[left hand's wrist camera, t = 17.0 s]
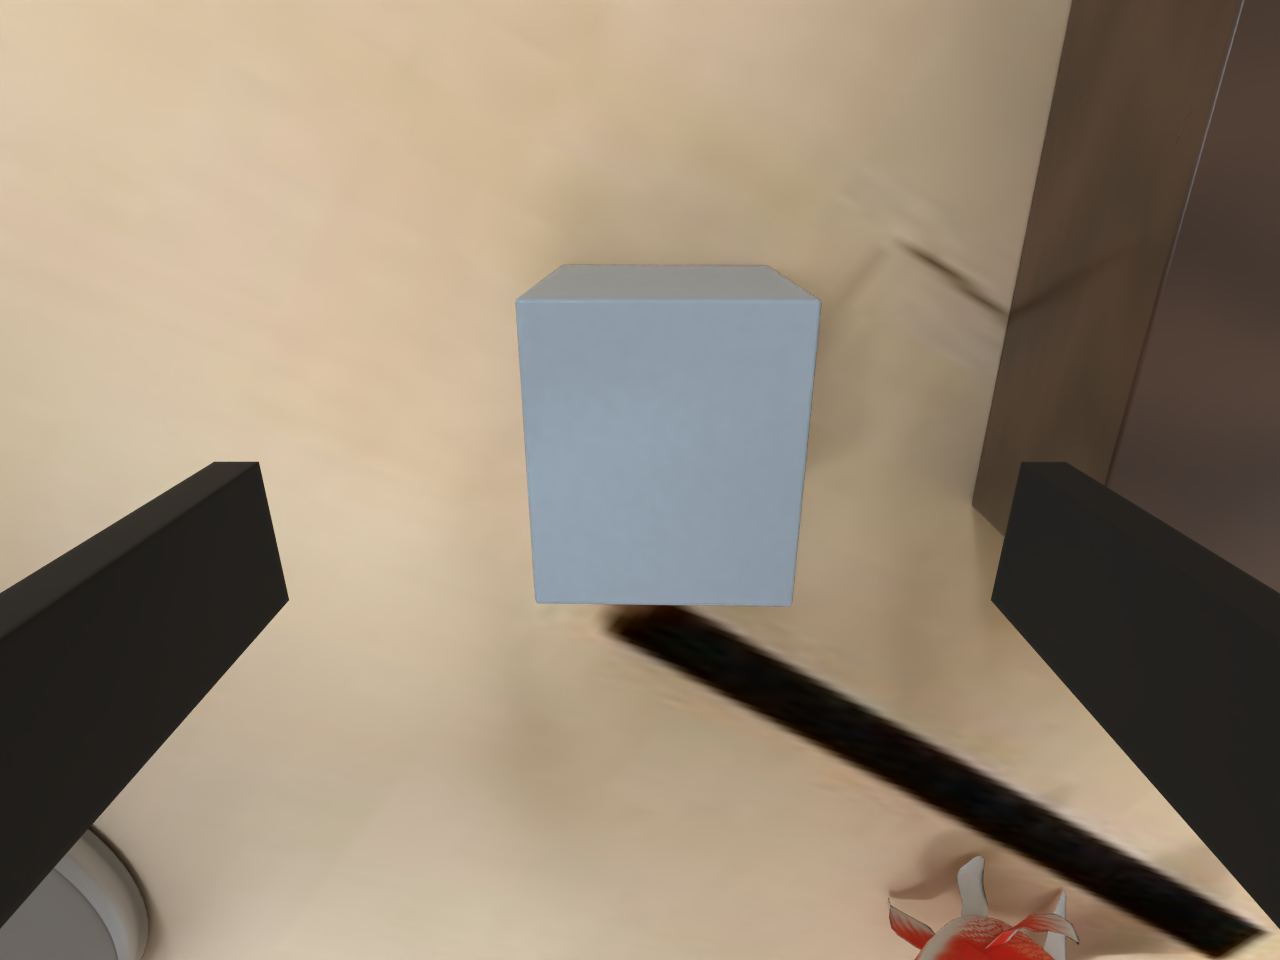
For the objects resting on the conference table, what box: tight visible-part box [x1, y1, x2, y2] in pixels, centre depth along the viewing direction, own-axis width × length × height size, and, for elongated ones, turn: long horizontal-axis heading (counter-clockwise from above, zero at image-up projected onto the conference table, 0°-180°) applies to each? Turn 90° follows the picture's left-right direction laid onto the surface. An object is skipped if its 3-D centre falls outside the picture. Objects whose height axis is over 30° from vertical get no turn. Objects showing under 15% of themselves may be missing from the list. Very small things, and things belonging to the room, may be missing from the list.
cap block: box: [516, 265, 821, 606], centre depth 18 cm, size 7×6×7 cm
